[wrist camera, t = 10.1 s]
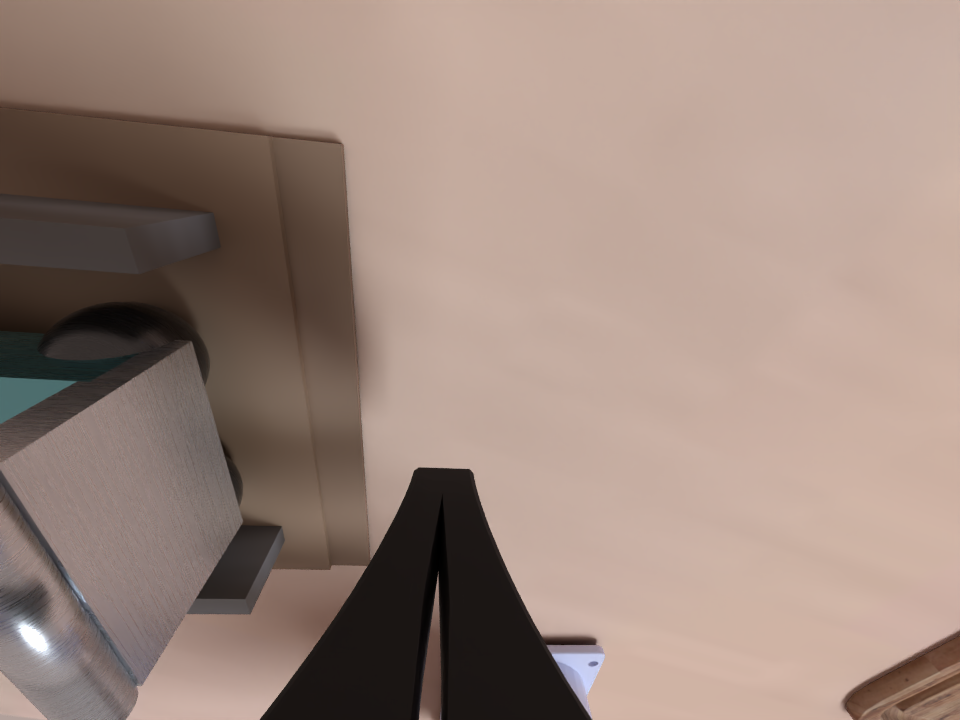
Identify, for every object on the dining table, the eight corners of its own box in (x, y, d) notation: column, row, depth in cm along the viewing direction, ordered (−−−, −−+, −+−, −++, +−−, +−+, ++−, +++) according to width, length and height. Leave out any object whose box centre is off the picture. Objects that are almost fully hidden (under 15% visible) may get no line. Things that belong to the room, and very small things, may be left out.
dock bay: (370, 561, 15) (351, 643, 13) (-3, 554, 14) (-110, 643, 12) (343, 144, 9) (290, 133, 6) (-375, 67, 7) (-843, 11, 5)
